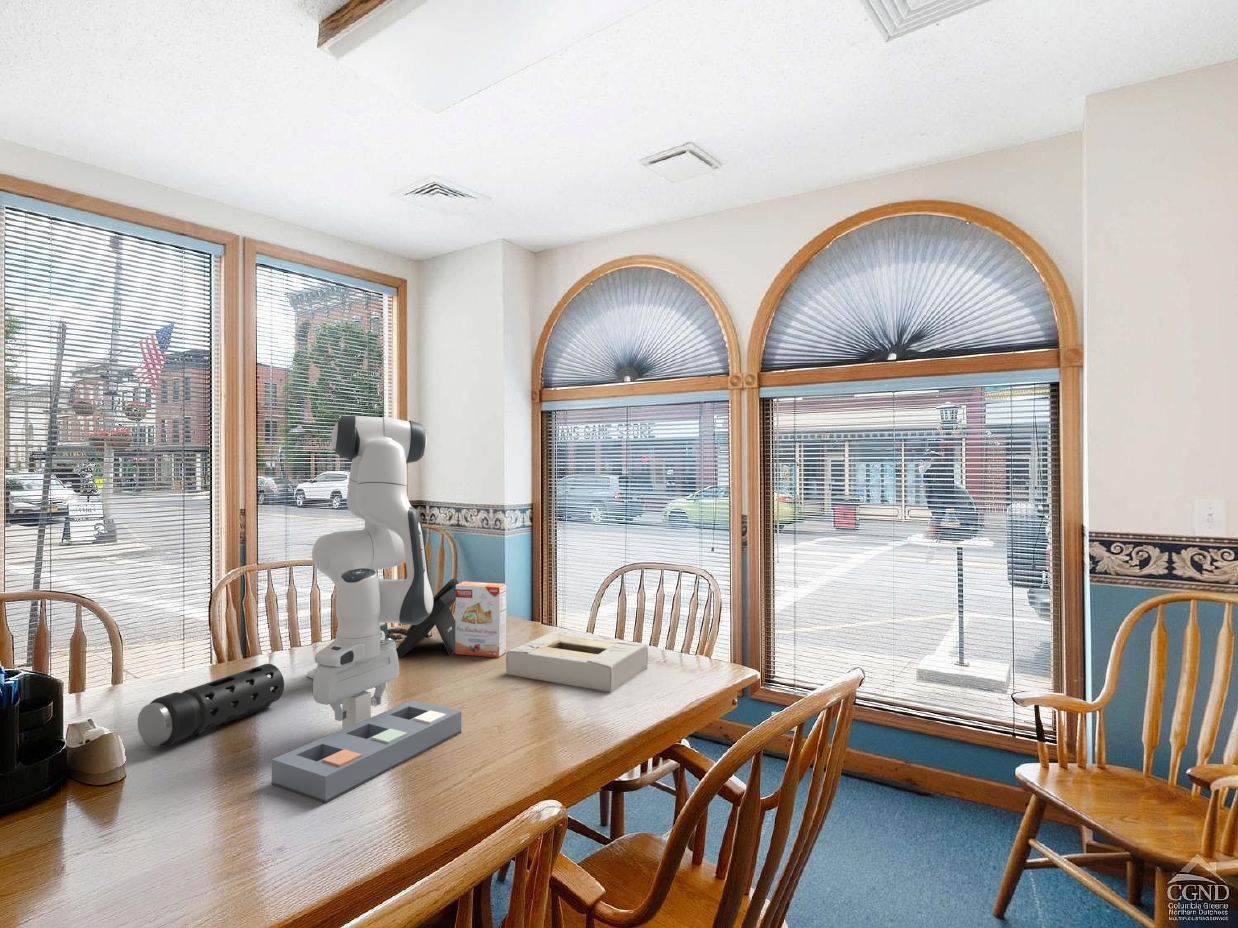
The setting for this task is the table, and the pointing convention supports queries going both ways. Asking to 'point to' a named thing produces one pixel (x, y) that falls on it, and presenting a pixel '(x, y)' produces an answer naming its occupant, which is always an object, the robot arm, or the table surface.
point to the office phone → (432, 623)
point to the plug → (356, 708)
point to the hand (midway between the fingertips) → (358, 712)
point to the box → (578, 660)
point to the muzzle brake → (209, 705)
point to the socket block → (364, 750)
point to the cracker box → (480, 619)
